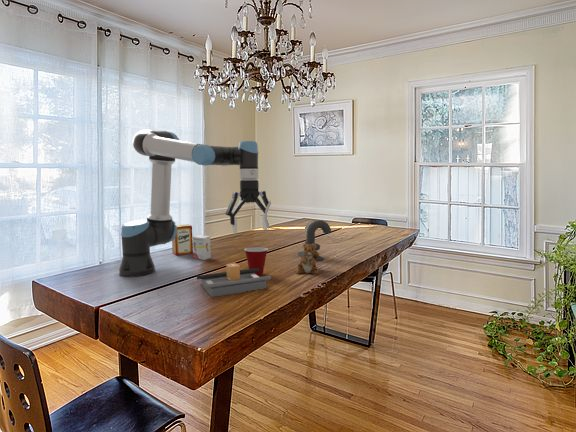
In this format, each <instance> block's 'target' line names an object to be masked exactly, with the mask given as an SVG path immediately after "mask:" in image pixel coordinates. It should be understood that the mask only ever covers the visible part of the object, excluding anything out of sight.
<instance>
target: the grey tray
mask: <svg viewBox="0 0 576 432" xmlns="http://www.w3.org/2000/svg"><path fill="white" fill-rule="evenodd" d="M253 272H259V268H254V269H249V268H246V269H240V274H245V273H253ZM222 276H227V272H226V271H224V272H217V273H215V272H214V273H208V274H207V273H206V274H199V275H196V280H198V281H199V280H201V279H206V278H214V277H222ZM271 279H272V276H271V275H265V276H259V277H257V278H249V279H242V280H235V281H228V282H220V283H213V284H206V285H205V289H208V288H215V287H222V286H229V285H237V284H244V283H251V282H258V281H270V280H271ZM205 289H204V290H205Z"/></svg>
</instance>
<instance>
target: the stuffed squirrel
mask: <svg viewBox="0 0 576 432" xmlns="http://www.w3.org/2000/svg"><path fill="white" fill-rule="evenodd" d="M302 247H303V252H304V253H303V254H304V255H303V256H302V257H301V258H300V262H299V263H298V264H297V269H296V274H297V273H298V274H297V275H299V273H300V274H303V273H304V272H305V274H313V273H315V274H314V275H318V274H319V270H318V268H317V265H316V262H315V260H316V259H317V258H318V256H320V253H319V252H318V250H315V248H316V247H317V245H314V246H313V245H312V244H306V245H305V243H303V244H302Z"/></svg>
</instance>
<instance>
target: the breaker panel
mask: <svg viewBox="0 0 576 432" xmlns="http://www.w3.org/2000/svg"><path fill="white" fill-rule="evenodd" d="M257 277H260V276H258V275H256V274H255V273H245V274H240V280H242V279H249V278H257ZM200 280H201V281H200V282H201V287H203V289H204V290H205V291H206V292H207V294H208V295H210V297H211V298H215V297H220V296H227V295H233V294H234V293H235V294H240V293H246V291H248V292H252V291H251V290H255V291H259V290H258V289H261V290H264V289H263V288H266V289H267V280H265V281H258V282H251V283H244V284H237V285H229V286H222V287H215V288H208V289H205V285H206V284H213V283H220V282H228V281H230V280H229V279H228V278H227V276H222V277H214V278H206V279H200ZM234 281H235V280H234Z"/></svg>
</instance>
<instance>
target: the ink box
mask: <svg viewBox="0 0 576 432" xmlns="http://www.w3.org/2000/svg"><path fill="white" fill-rule="evenodd" d="M192 240H193V256H192V257H193V259H197V260H203V261H206V260H209V259H211V256H212V255H211V254H212V253H211V236H209V235H203V234H197V235H195V236H194V235H193V236H192Z"/></svg>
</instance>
